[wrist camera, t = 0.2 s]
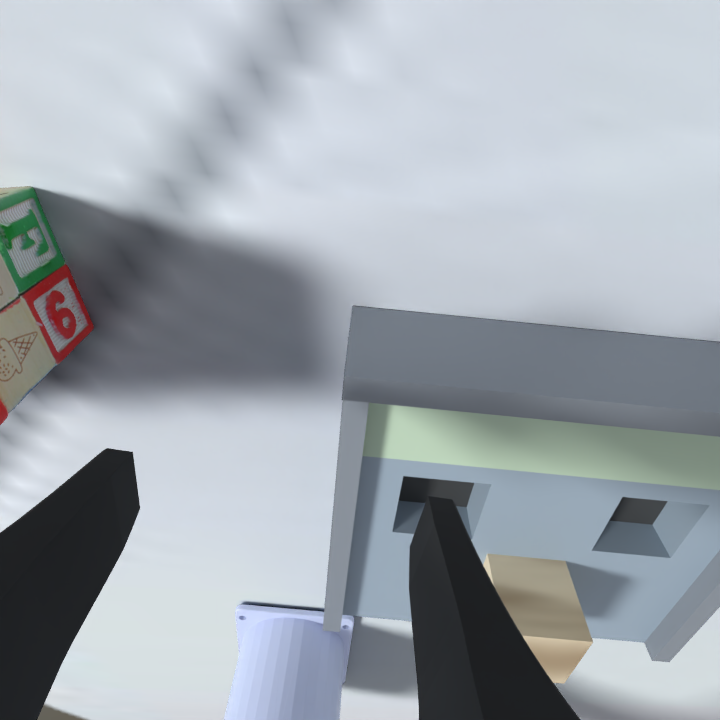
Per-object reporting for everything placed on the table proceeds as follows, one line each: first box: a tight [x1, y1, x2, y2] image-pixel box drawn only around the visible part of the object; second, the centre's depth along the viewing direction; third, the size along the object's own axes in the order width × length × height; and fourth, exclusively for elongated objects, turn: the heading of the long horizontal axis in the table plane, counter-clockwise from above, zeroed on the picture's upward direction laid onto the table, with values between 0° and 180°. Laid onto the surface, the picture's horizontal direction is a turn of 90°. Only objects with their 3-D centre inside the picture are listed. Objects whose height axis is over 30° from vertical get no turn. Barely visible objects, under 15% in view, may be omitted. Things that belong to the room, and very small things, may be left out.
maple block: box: [483, 554, 593, 683], centre depth 24 cm, size 4×4×4 cm
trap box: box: [323, 306, 720, 662], centre depth 23 cm, size 19×20×5 cm
